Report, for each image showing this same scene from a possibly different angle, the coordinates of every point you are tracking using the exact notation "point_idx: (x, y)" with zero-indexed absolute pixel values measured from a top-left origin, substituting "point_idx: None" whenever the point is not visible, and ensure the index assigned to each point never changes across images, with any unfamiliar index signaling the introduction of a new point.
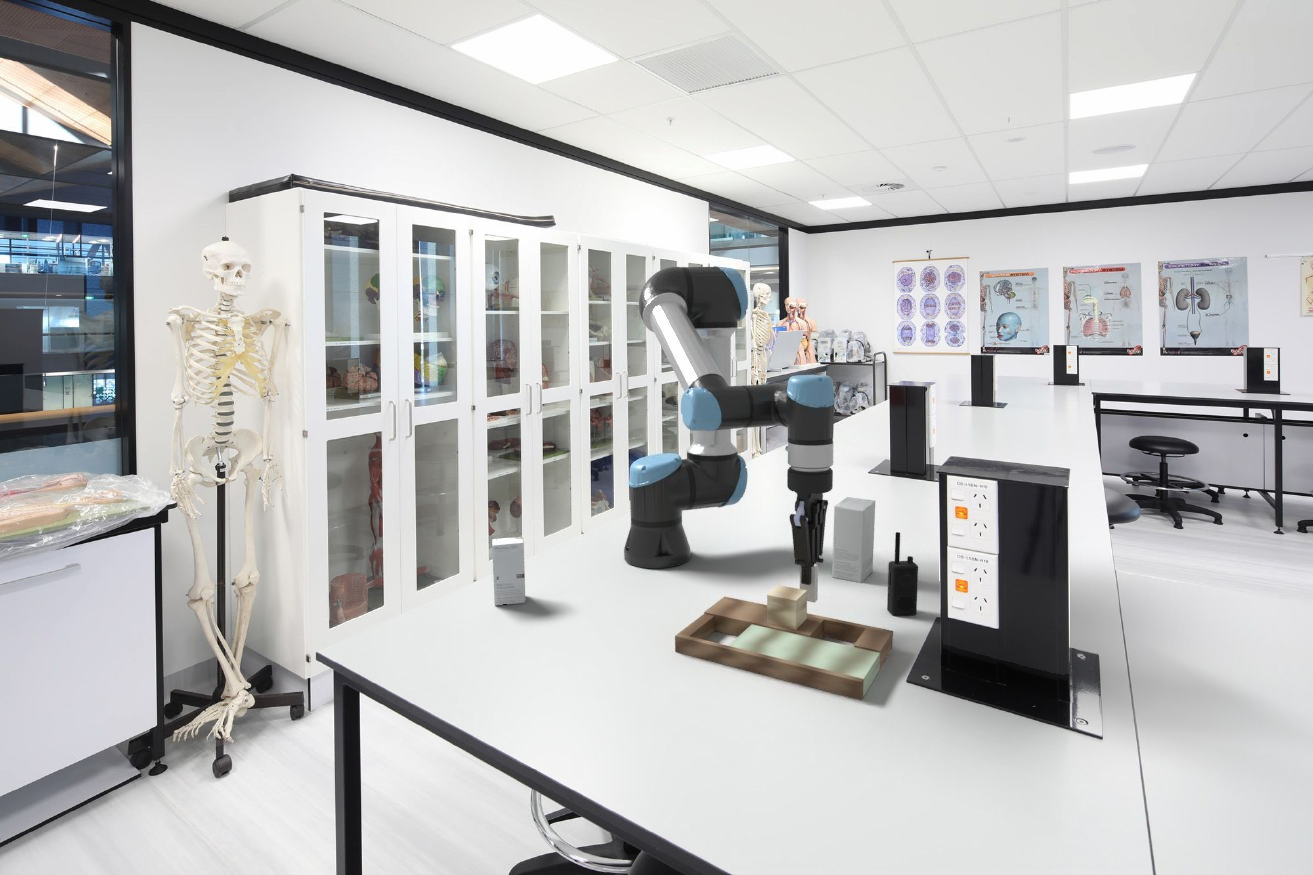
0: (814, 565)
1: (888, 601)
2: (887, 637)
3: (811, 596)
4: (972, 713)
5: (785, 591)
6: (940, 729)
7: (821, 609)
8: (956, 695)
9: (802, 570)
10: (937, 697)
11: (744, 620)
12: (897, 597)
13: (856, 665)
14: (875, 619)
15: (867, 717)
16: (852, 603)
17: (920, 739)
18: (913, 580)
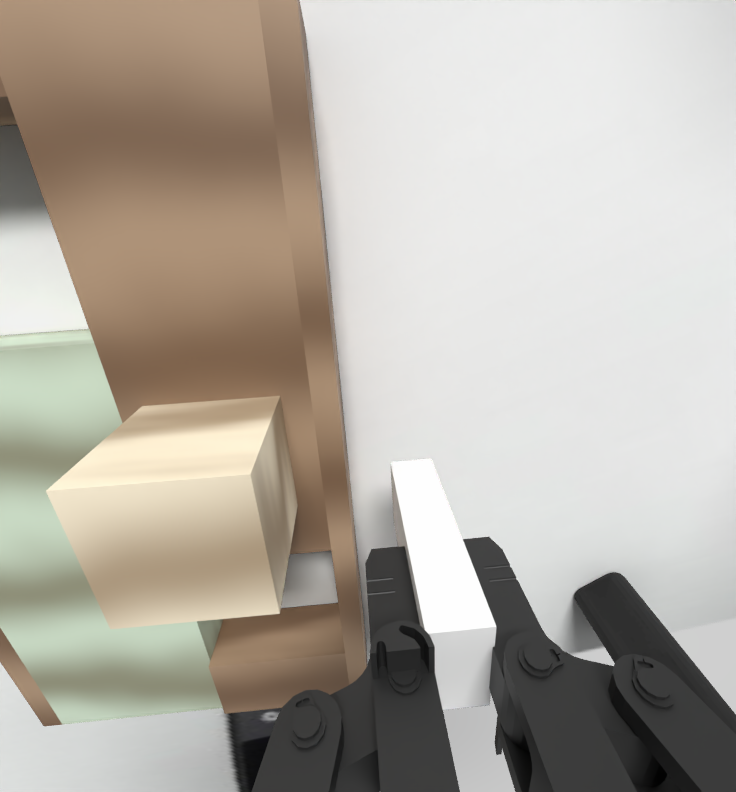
0: (444, 703)
1: (622, 604)
2: None
3: (396, 526)
4: (194, 783)
5: (182, 544)
6: (101, 770)
7: (543, 419)
8: (238, 759)
9: (370, 637)
10: (206, 745)
11: (85, 302)
12: (611, 657)
13: (113, 695)
14: (530, 568)
15: (25, 699)
16: (636, 480)
17: (41, 762)
18: None
